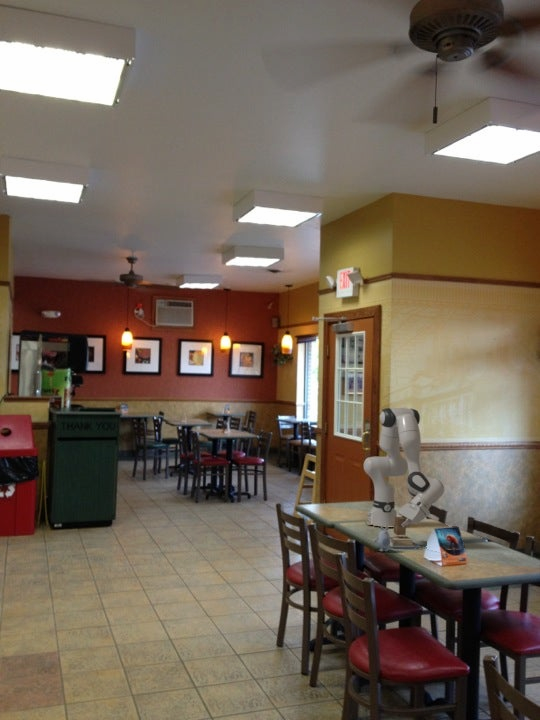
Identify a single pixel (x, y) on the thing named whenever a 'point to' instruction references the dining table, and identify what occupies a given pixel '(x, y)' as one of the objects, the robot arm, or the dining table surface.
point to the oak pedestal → (401, 540)
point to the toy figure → (383, 539)
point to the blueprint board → (405, 546)
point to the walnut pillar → (399, 526)
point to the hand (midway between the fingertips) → (399, 525)
